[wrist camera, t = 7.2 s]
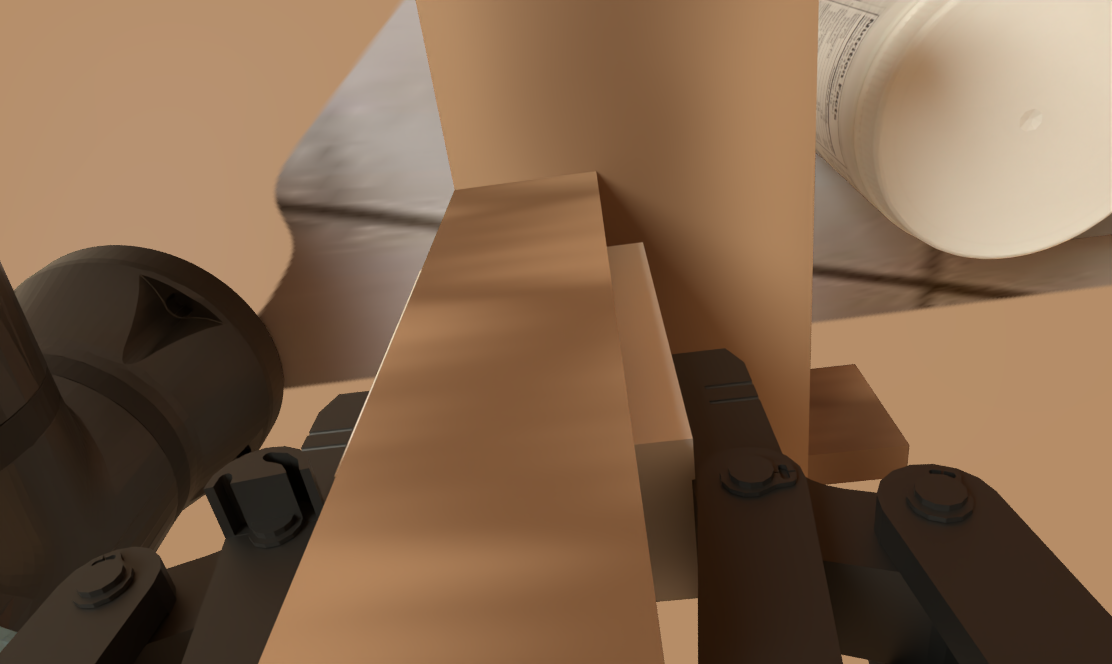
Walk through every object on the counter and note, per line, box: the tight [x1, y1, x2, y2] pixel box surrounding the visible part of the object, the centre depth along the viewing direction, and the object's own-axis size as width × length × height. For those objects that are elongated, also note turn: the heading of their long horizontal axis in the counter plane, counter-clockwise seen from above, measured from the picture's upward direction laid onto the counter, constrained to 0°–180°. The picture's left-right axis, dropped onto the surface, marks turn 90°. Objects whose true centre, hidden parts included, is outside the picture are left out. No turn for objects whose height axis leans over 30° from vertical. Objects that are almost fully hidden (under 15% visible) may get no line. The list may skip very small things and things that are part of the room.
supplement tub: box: [815, 0, 1112, 259], centre depth 29 cm, size 10×10×15 cm
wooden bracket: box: [258, 0, 909, 664], centre depth 13 cm, size 10×13×16 cm
